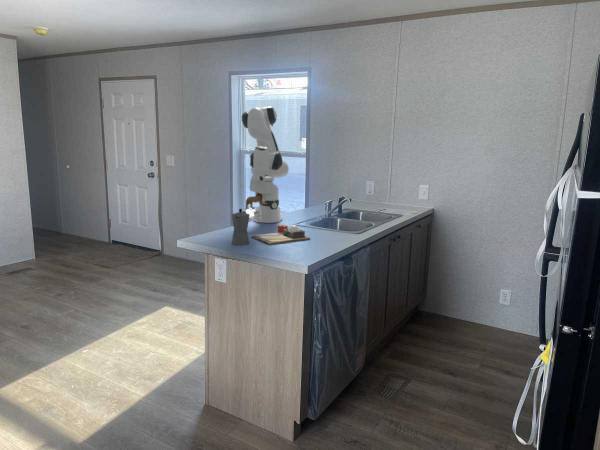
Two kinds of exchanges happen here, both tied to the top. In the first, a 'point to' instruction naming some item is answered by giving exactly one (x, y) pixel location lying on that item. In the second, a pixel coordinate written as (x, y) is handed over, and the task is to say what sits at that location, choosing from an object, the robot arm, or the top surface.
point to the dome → (293, 228)
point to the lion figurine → (254, 200)
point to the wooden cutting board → (281, 237)
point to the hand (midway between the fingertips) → (260, 201)
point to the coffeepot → (240, 228)
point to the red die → (282, 228)
